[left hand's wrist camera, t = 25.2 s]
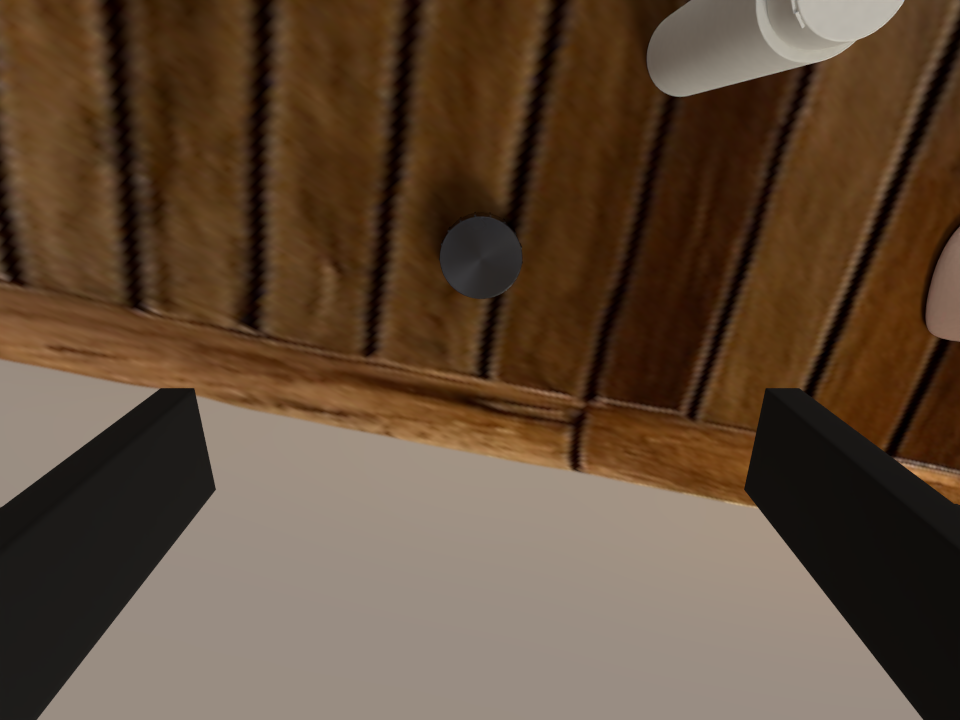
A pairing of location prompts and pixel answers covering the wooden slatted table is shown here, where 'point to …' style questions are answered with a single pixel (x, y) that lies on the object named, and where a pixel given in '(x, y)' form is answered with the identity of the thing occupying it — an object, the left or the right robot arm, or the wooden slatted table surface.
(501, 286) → the lid
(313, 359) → the wooden slatted table surface
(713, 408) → the wooden slatted table surface
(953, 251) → the anatomical model
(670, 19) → the jar
